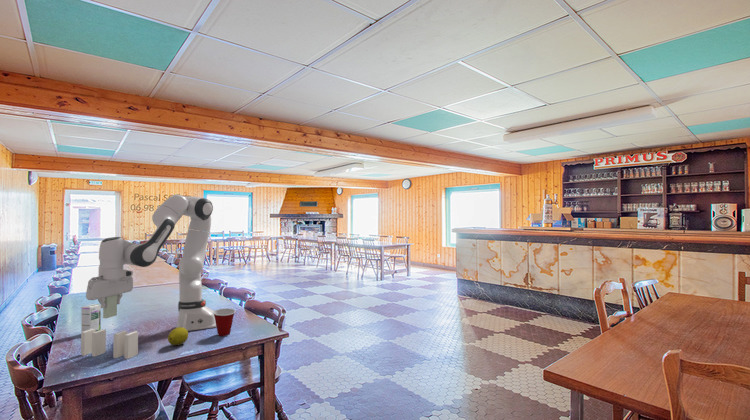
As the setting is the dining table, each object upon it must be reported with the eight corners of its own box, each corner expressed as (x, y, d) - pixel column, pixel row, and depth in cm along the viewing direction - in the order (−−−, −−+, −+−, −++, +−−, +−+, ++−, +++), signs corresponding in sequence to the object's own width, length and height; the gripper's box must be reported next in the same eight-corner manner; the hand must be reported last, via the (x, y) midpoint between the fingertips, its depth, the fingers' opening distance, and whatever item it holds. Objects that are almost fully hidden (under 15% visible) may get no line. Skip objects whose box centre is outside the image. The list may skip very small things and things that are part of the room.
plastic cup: (219, 339, 178) (219, 314, 179) (208, 334, 185) (209, 311, 186) (239, 333, 187) (239, 310, 187) (229, 329, 194) (229, 307, 194)
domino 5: (124, 358, 154) (124, 335, 154) (134, 354, 159) (134, 331, 159) (128, 358, 154) (128, 335, 154) (137, 354, 159) (138, 331, 159)
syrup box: (90, 335, 185) (90, 306, 185) (80, 334, 186) (81, 306, 186) (100, 332, 190) (101, 304, 190) (91, 331, 191) (91, 303, 192)
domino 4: (113, 357, 155) (113, 334, 155) (123, 353, 160) (123, 330, 160) (116, 358, 155) (117, 334, 155) (126, 353, 160) (127, 330, 160)
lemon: (180, 340, 177) (180, 324, 177) (193, 342, 175) (193, 325, 175) (161, 348, 166) (161, 330, 167) (175, 350, 164) (175, 332, 164)
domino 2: (91, 356, 157) (92, 332, 157) (102, 351, 162) (102, 329, 162) (95, 356, 157) (95, 333, 157) (105, 352, 162) (105, 329, 162)
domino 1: (80, 355, 158) (81, 332, 158) (91, 351, 163) (91, 328, 163) (84, 355, 158) (84, 332, 158) (95, 351, 163) (95, 329, 163)
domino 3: (116, 315, 161) (117, 292, 161) (106, 318, 156) (107, 295, 156) (113, 315, 161) (113, 292, 162) (103, 318, 156) (103, 294, 157)
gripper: (95, 278, 148) (94, 312, 148) (136, 271, 169) (135, 301, 168) (82, 277, 149) (81, 311, 149) (124, 270, 170) (123, 300, 169)
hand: (110, 306), depth 159 cm, fingers closed on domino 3, 5 cm apart
